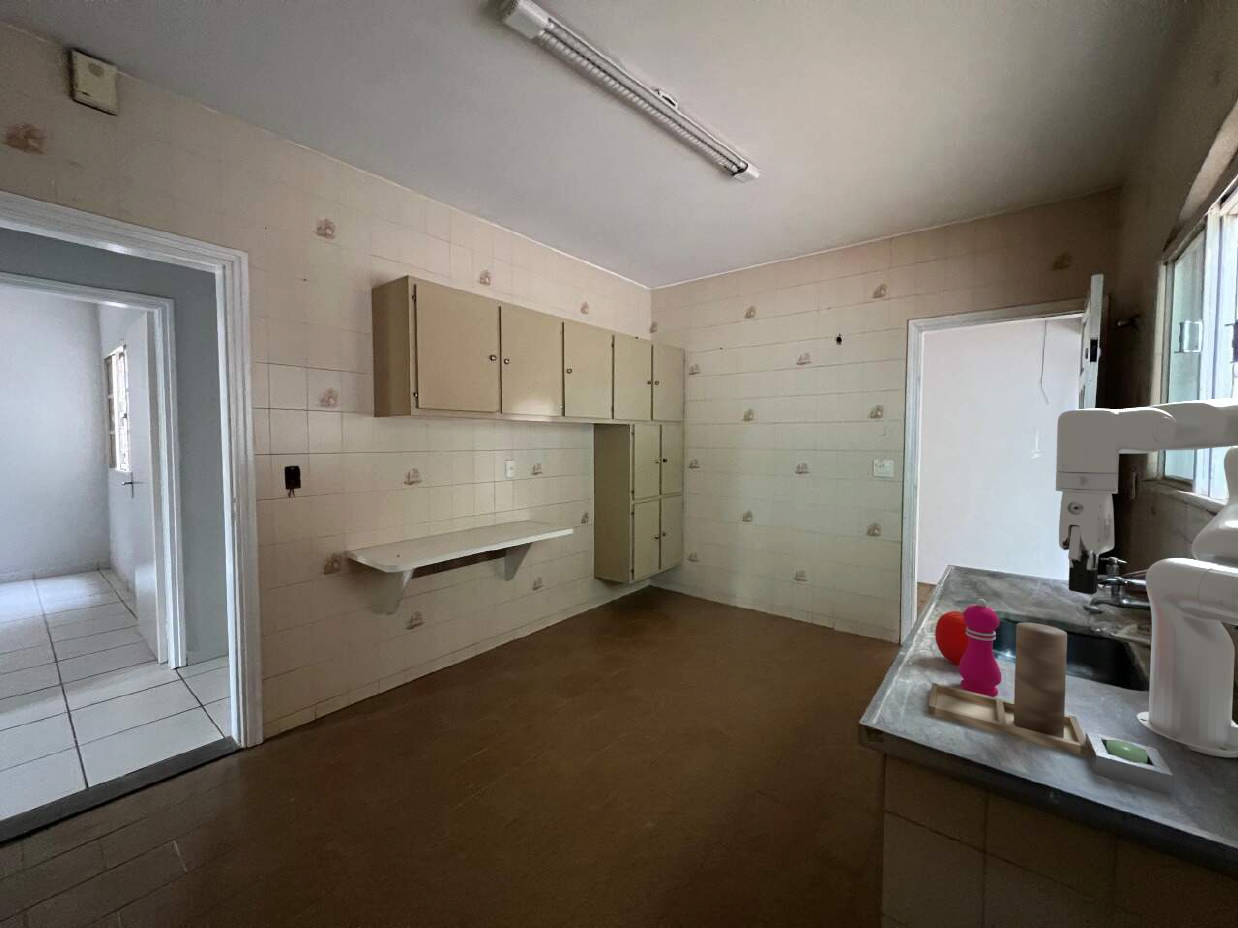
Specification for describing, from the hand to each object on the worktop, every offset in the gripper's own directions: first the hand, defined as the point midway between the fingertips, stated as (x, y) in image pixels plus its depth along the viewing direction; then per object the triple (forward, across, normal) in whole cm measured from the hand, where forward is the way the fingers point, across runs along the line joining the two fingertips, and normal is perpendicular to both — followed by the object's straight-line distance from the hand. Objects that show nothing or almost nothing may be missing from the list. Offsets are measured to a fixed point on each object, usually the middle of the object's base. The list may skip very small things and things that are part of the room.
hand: (1082, 591), depth 82 cm
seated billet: (+26, 0, +5) cm, 27 cm away
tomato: (+27, +21, +26) cm, 43 cm away
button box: (+27, -3, -6) cm, 28 cm away
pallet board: (+27, -2, +10) cm, 29 cm away
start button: (+27, -3, -6) cm, 27 cm away
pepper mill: (+27, +8, +18) cm, 33 cm away
